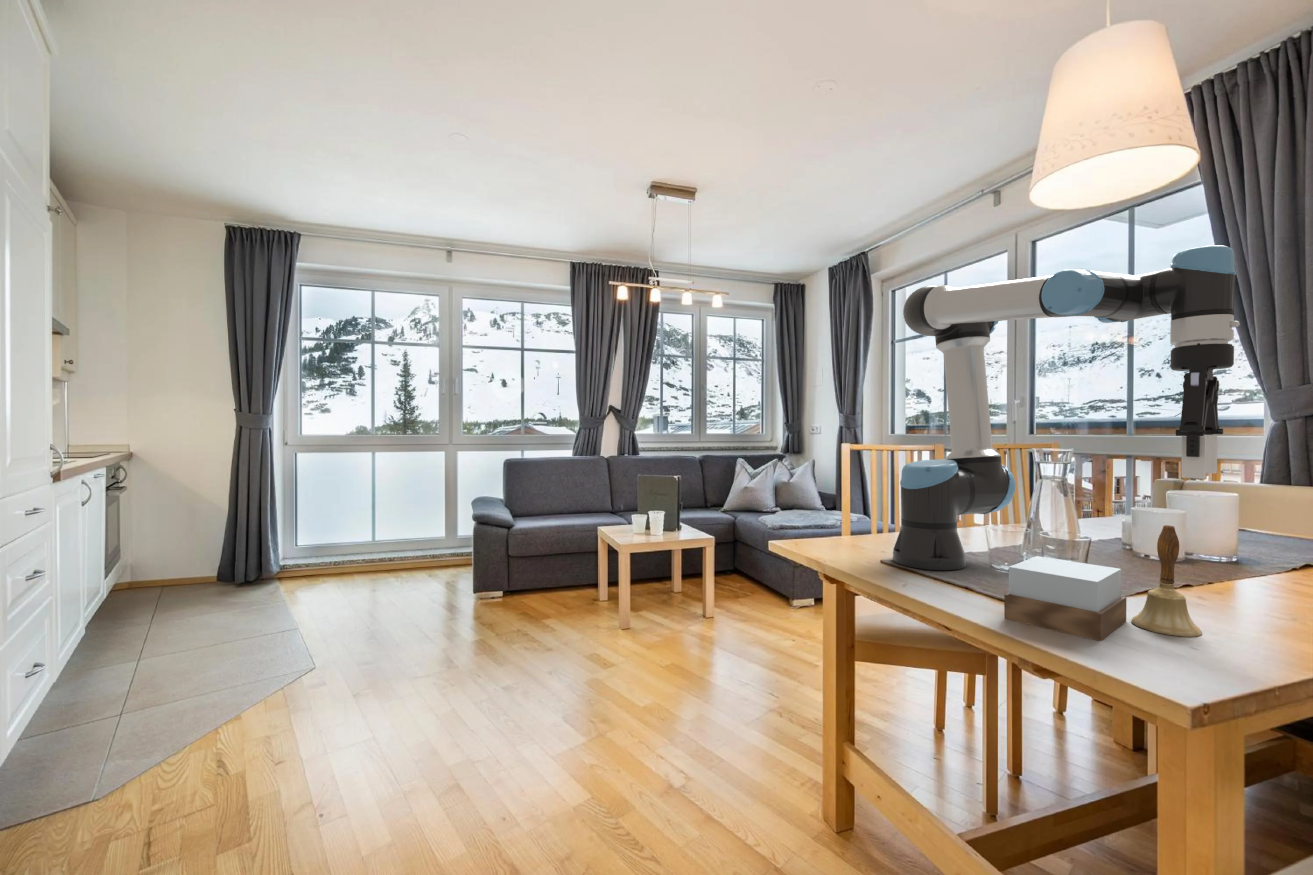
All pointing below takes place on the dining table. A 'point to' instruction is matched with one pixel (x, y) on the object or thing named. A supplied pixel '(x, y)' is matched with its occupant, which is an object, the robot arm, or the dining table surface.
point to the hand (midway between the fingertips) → (1199, 475)
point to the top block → (1065, 582)
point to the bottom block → (1066, 616)
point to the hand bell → (1167, 595)
